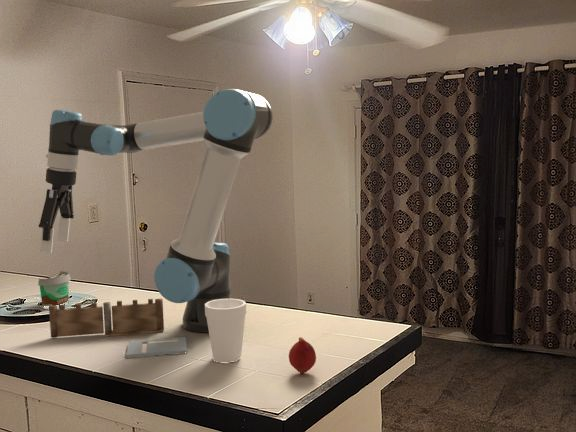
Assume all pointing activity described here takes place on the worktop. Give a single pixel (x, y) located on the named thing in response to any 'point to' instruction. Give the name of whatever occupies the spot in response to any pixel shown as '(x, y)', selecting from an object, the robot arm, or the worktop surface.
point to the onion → (302, 356)
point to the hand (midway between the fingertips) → (54, 246)
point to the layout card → (156, 347)
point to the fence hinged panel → (76, 320)
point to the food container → (55, 289)
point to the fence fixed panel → (134, 318)
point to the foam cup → (226, 328)
